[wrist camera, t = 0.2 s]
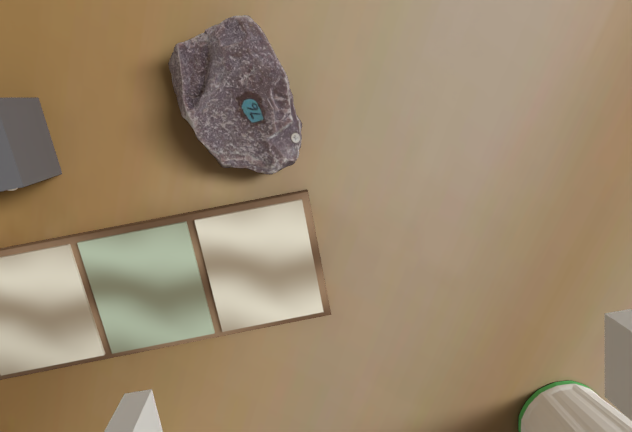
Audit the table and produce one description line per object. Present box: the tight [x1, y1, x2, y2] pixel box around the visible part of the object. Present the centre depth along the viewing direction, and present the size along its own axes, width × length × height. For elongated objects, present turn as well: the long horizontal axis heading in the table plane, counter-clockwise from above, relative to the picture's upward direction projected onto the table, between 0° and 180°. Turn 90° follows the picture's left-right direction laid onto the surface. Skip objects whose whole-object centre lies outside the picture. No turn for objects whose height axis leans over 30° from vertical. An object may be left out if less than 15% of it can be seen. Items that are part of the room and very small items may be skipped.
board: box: [0, 190, 331, 380], centre depth 41 cm, size 11×29×1 cm, turn 100°
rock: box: [168, 15, 302, 174], centre depth 37 cm, size 8×11×5 cm
